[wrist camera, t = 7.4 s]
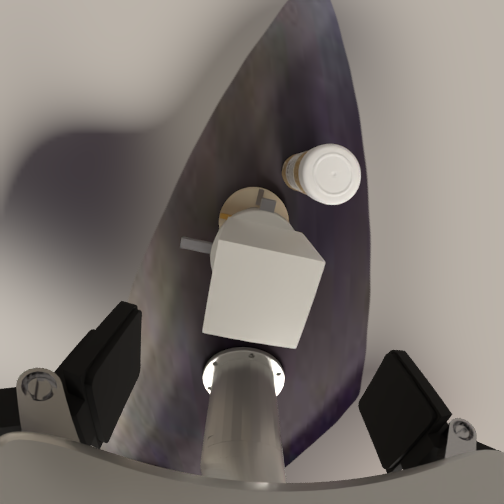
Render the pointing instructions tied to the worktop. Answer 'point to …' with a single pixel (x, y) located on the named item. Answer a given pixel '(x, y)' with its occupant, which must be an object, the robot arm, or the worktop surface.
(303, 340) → the worktop surface
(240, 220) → the coupling cap
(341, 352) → the worktop surface
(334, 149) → the sprinkles bottle
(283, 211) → the post base
